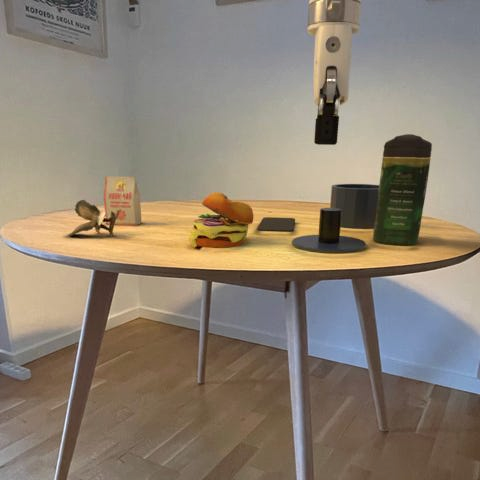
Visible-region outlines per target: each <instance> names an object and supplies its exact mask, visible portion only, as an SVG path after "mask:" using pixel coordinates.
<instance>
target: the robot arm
mask: <svg viewBox="0 0 480 480" xmlns="http://www.w3.org/2000/svg"><path fill="white" fill-rule="evenodd" d="M361 9H362V0H308V15H307V34H309V35H311V36H314V37H315V38H314V53H313V55H314V56H313V98H314V104H315V105H316V106H317V115H316V118H315V122H314V123H315V125H314V139H313V140H314V143H313V144H314V145H317V146H318V145H319V146H320V145H321V146H325V145H326V146H336V145H337V143H338V133H339V124H340V123H339V122H340V115H339V106H343V105H345V103H347V101H349V91H350V90H349V88H350V87H349V86H350V75H351V74H350V72H351V62H352V61H351V60H352V59H351V58H352V42H353V41H352V40H353V39H352V38H353V37H352V36H353V35H355V34H357V33H359V31H360V23H361V11H362V10H361Z"/></svg>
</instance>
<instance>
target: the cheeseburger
mask: <svg viewBox="0 0 480 480" xmlns="http://www.w3.org/2000/svg"><path fill="white" fill-rule="evenodd" d="M201 205H202V206H204V207H205V208H207V209H208V210H210V211H211V212H213V213H215V214H210V213H206V214H201V215H198V216H197V219H193V222H192V225H193V226H192V227H191V228H190V230H189V232H190V234H189V236H188V242H189V243H190V245H191V247H192V248H196V247H197V246H198V247H207V248H232V247H238V246H240V245H242V244H243V242H244V241H245V240H246V238H247V235H248V231H249V230H248V229H249V225H252V224H253V223H254V212H253V211H254V210H253V208H252V207H251V205H250V204H248V203H246V202H241V201H233V200H231V199H230V198H228V196H227V195H225V194H224V193H222V192H217V191H215V192H211V193H210V194H208V195H207V196H206V197H205V198H204V199H203V200H202V202H201Z"/></svg>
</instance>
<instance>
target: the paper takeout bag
mask: <svg viewBox="0 0 480 480" xmlns="http://www.w3.org/2000/svg"><path fill="white" fill-rule="evenodd" d="M103 189H104V190H103V203H104V210H105V211H106V216H105V218H106V219H109V218H110V217H111V211H112V212H114V213H115V214H116V213H117V211H118V210H119V214H118V217H117V219H116V221H115V224H114V226H138V225H140V224H142V223H143V221H142V206H141V196H140V192H139V188H138V183H137V179H136V176H109V175H107V176H106V175H105V176H104V188H103ZM105 225H109V226H110V222H105Z"/></svg>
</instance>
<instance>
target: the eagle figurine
mask: <svg viewBox="0 0 480 480" xmlns="http://www.w3.org/2000/svg"><path fill="white" fill-rule="evenodd" d="M74 207H75V208H74V211H75V214H77V216H78V217H80V218H82V219H84V220H87V222H85V223H84V222H83V223H81V224H79V225H77V226H76V227H75V228H74V229H73V230H72V232H70V233H69V234H68V235H67V236H68V237H72V236H74V235H76V234H79V233H80V232H81V233H82V232H88V231H90V230H93V229H94V230H95V232H96V233H97V234H100V233H101V229H103V230H105V231H107V232H108V233H109V235H110V236H111V237H114V227H115V225H114V224H115V221H116V219H117V217H118V214H119V210H118V211H117V213H116V214H115V213H114V212H112V211H111V217H110V218H109V219H106V211H105V209H104V210H103V211H102V212H101V210H100V209H99V208H98V206H96V205H95V204H91V203H90V202H88V201H87V200H86V199H81V200H78V201H76V204H75V205H74ZM106 222H110V225H109V226H107V225H106V224H103V223H106Z"/></svg>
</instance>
